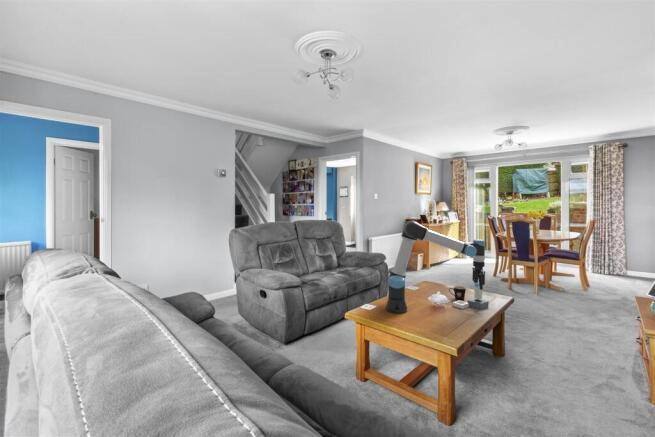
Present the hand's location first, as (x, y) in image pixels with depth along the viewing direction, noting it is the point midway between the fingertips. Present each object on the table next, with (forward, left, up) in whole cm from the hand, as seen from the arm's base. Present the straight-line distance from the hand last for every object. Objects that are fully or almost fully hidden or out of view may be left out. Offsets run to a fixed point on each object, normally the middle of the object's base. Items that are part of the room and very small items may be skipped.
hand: (478, 292), depth 227 cm
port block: (0, 0, -11) cm, 11 cm away
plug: (0, 0, -4) cm, 4 cm away
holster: (-7, -10, -11) cm, 16 cm away
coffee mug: (-19, +4, -11) cm, 22 cm away
